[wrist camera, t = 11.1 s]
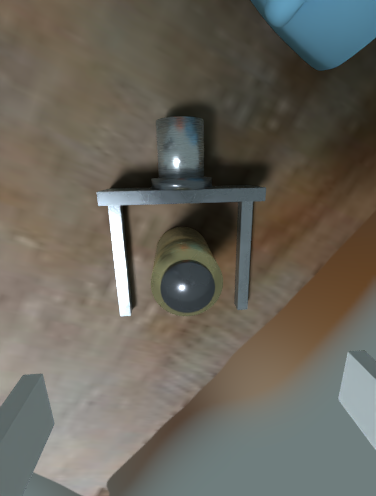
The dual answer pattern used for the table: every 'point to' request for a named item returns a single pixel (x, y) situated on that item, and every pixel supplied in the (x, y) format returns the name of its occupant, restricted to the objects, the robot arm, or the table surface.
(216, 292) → the yellow jar
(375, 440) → the robot arm
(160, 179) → the flange cradle
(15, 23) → the table surface
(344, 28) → the light blue boxy pot
